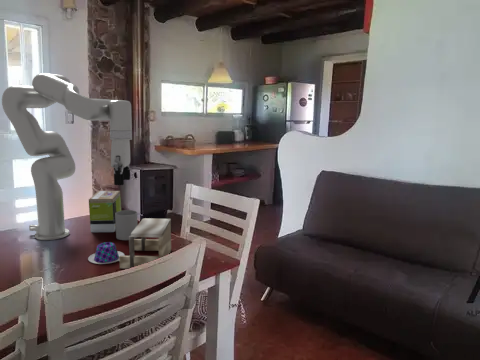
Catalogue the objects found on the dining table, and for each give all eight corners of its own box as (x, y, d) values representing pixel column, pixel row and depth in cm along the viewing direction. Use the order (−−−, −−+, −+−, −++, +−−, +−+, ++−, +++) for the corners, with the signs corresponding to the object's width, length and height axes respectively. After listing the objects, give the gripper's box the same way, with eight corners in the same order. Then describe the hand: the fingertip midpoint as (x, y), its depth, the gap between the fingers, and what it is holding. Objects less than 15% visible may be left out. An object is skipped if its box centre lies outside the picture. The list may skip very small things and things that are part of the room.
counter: (119, 268, 125) (118, 233, 123) (133, 249, 143) (132, 217, 140) (162, 269, 126) (162, 234, 123) (171, 249, 143) (170, 218, 141)
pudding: (127, 262, 132) (127, 247, 131) (90, 268, 126) (89, 253, 125) (120, 250, 142) (120, 236, 141) (86, 255, 136) (85, 241, 135)
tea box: (99, 222, 175) (98, 190, 172) (122, 222, 175) (121, 190, 173) (89, 232, 160) (88, 198, 157) (114, 232, 161) (113, 198, 158)
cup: (140, 233, 160) (140, 210, 158) (133, 240, 152) (132, 216, 150) (121, 232, 160) (120, 209, 159) (112, 239, 152) (111, 215, 151)
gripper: (116, 133, 146) (118, 177, 149) (103, 137, 129) (105, 187, 132) (136, 133, 146) (137, 178, 150) (126, 137, 129) (127, 187, 133)
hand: (122, 182), depth 141 cm, fingers open, 9 cm apart
